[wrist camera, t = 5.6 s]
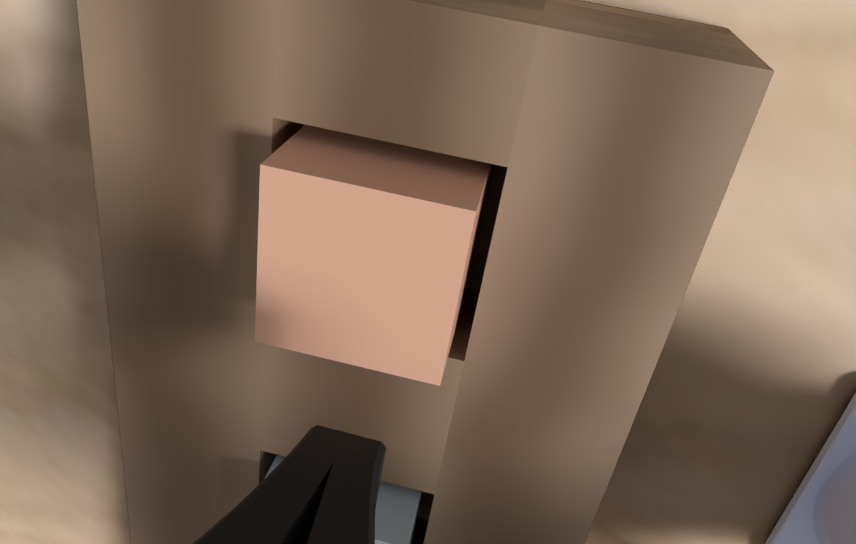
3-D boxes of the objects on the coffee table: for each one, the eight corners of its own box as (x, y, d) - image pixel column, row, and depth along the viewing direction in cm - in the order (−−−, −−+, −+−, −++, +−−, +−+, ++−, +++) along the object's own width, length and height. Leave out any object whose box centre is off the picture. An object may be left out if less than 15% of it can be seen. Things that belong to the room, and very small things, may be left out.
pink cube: (494, 152, 16) (475, 211, 13) (461, 305, 19) (439, 386, 16) (316, 114, 17) (260, 164, 14) (305, 269, 19) (254, 341, 16)
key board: (728, 28, 17) (774, 71, 13) (483, 713, 32) (470, 826, 28) (179, -76, 18) (69, -66, 14) (199, 634, 33) (149, 732, 30)
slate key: (430, 455, 21) (406, 547, 18) (411, 547, 24) (387, 643, 21) (294, 421, 22) (249, 506, 19) (287, 515, 24) (246, 605, 21)
